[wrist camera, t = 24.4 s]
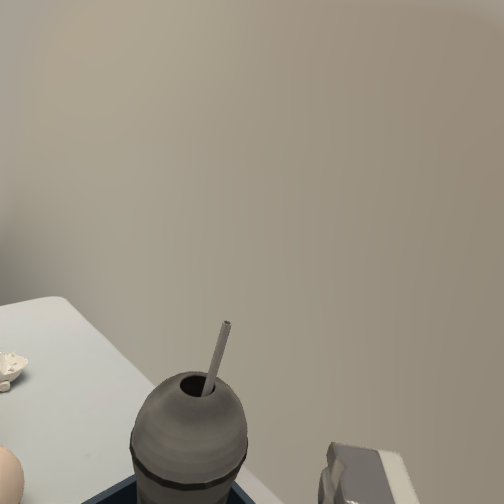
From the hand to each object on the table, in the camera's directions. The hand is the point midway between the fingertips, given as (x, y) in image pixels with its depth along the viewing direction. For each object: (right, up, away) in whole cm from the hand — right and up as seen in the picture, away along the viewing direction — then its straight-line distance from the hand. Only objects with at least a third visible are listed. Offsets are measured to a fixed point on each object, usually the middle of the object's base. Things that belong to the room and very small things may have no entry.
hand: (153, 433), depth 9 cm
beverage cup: (-3, -18, +19) cm, 26 cm away
